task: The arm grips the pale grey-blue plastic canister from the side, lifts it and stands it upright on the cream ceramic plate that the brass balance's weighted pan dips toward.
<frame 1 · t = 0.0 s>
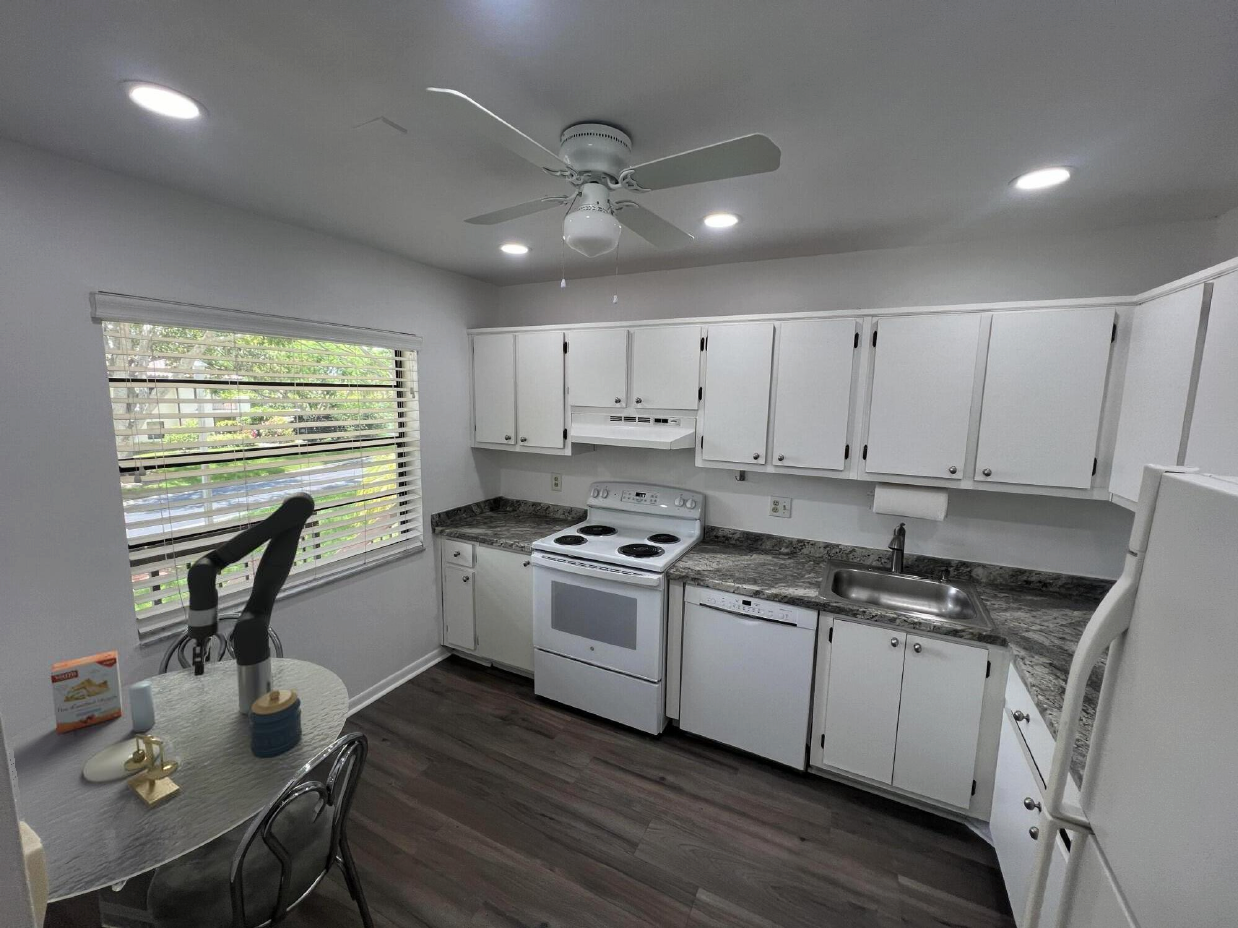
hand: (202, 667, 158), 17 cm above the table, tool pointing down, fingers open, 8 cm apart
cracker box: (91, 721, 156), on the table
cream plate: (124, 760, 141), on the table
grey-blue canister: (144, 726, 155), on the table
canister: (277, 744, 150), on the table
brass balance: (152, 788, 132), on the table
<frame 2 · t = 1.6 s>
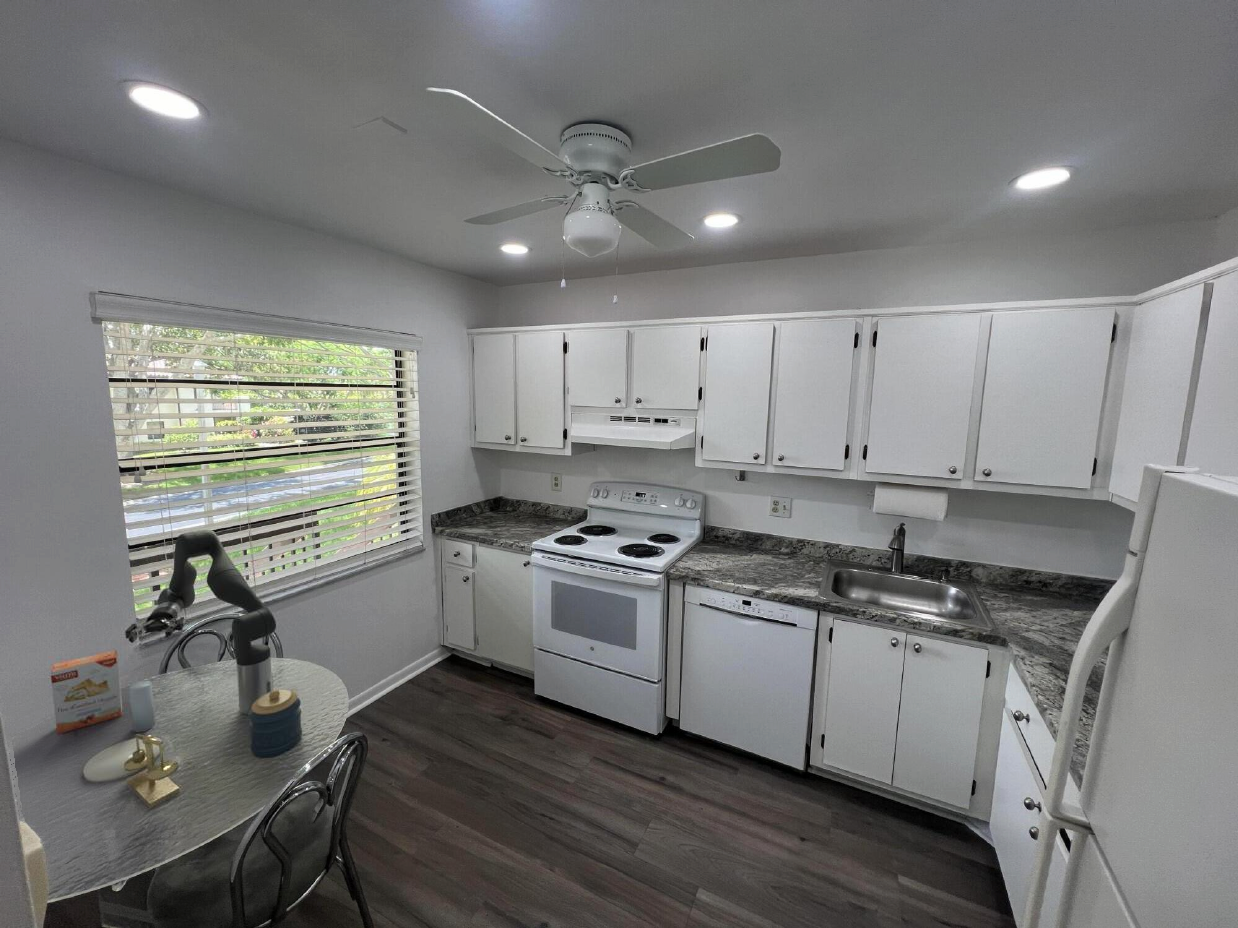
hand: (149, 637, 161), 24 cm above the table, tool horizontal, fingers open, 8 cm apart
nothing on the table moved.
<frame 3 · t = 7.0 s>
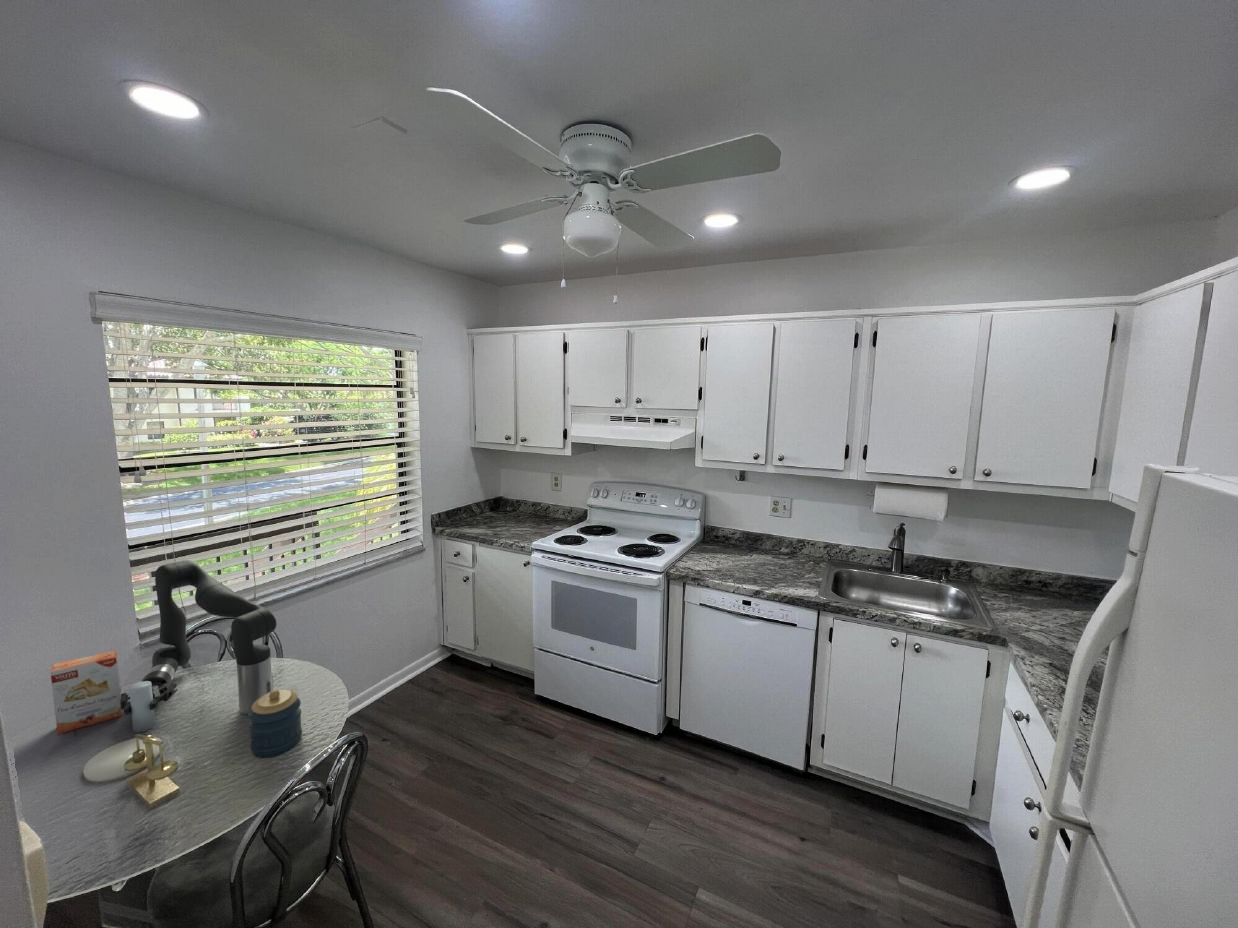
hand: (139, 709, 151), 8 cm above the table, tool horizontal, fingers closed on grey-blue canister, 5 cm apart
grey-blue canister: (144, 726, 155), on the table, touching gripper
everything else where it was.
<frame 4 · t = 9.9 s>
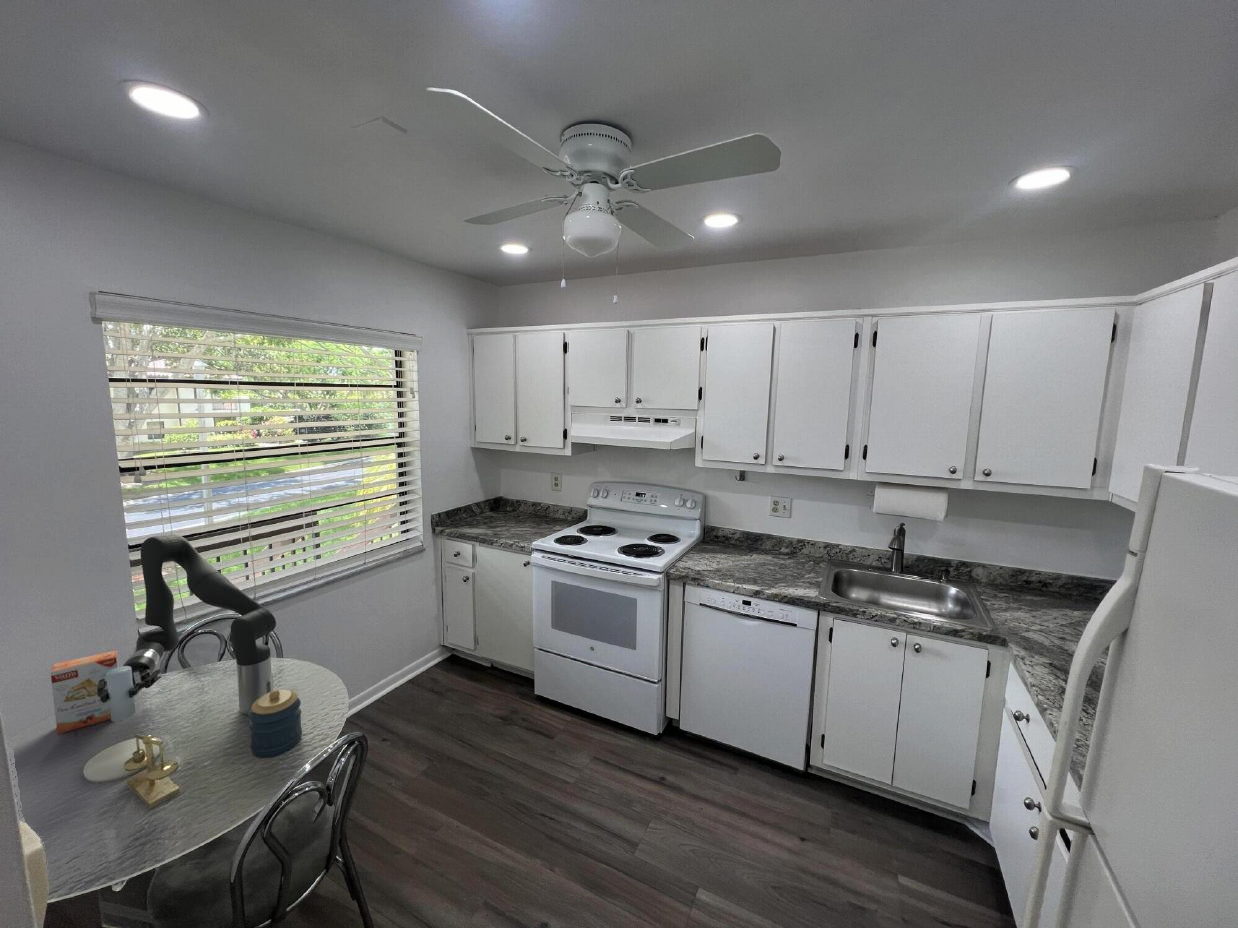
hand: (117, 696, 138), 20 cm above the table, tool horizontal, fingers closed on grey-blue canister, 5 cm apart
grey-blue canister: (123, 715, 141), point 12 cm above the table, touching gripper
everything else where it was.
when the fingers open (10 cm above the table, at t = 12.9 s): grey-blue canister drops 1 cm, resting on cream plate.
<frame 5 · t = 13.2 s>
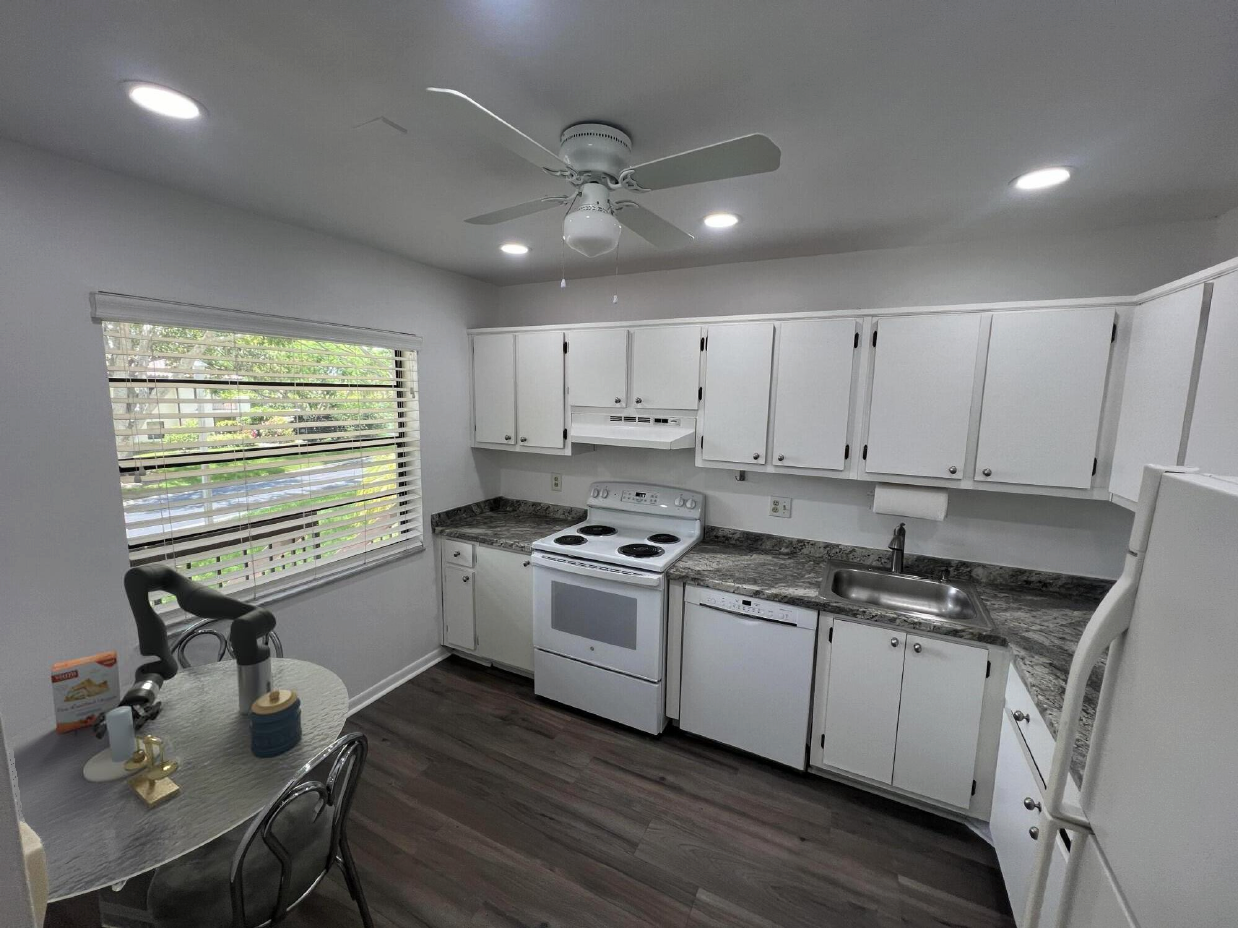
hand: (118, 731, 138), 11 cm above the table, tool horizontal, fingers open, 7 cm apart
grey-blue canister: (124, 755, 141), point 2 cm above the table, touching cream plate
everything else where it was.
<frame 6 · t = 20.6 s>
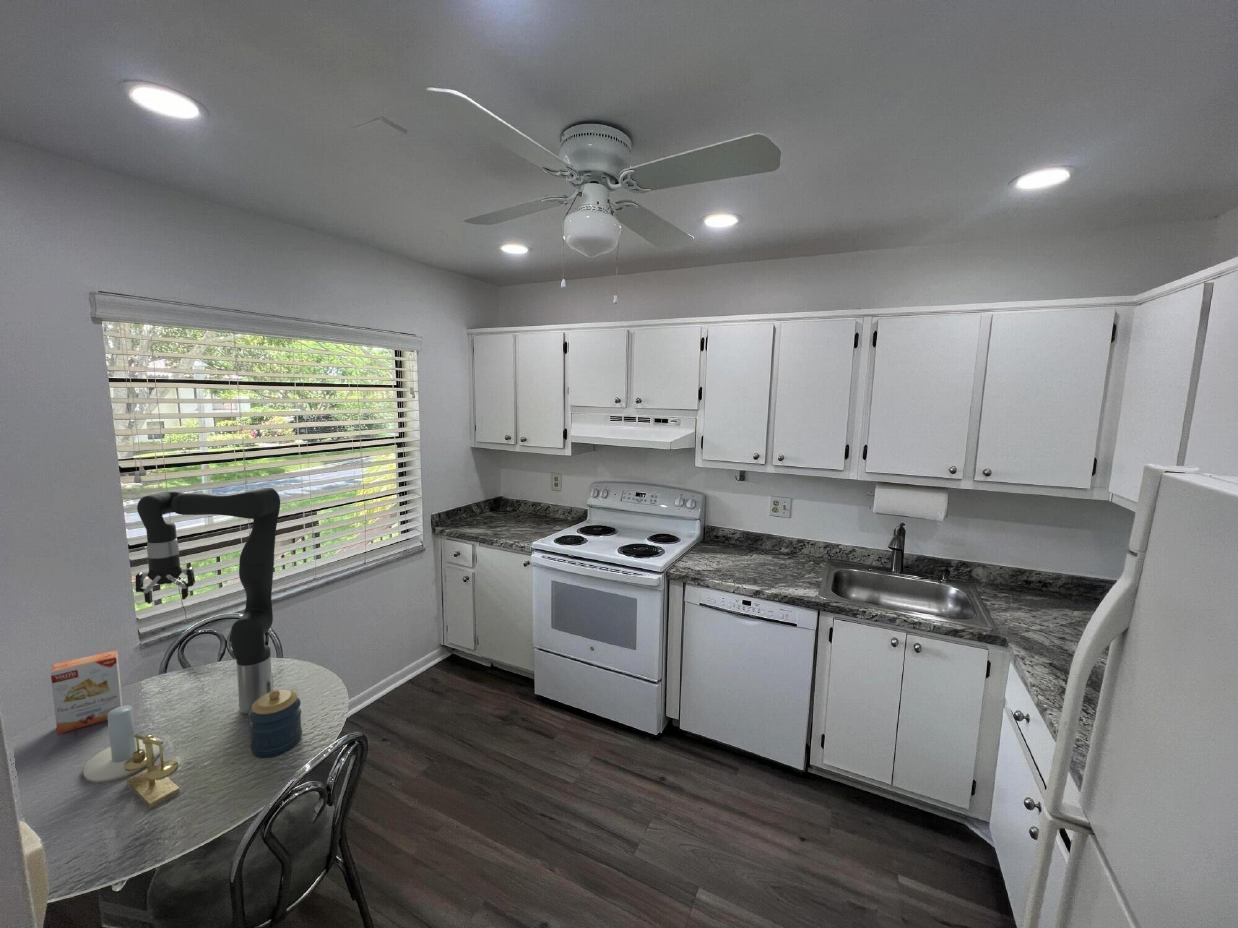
hand: (167, 600, 162), 36 cm above the table, tool pointing down, fingers open, 8 cm apart
nothing on the table moved.
at the end: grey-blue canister inside the target area on the cream plate (0.1 cm from its centre), point 1.5 cm above the cream plate's base; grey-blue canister tilted 0°; the gripper is holding nothing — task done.
